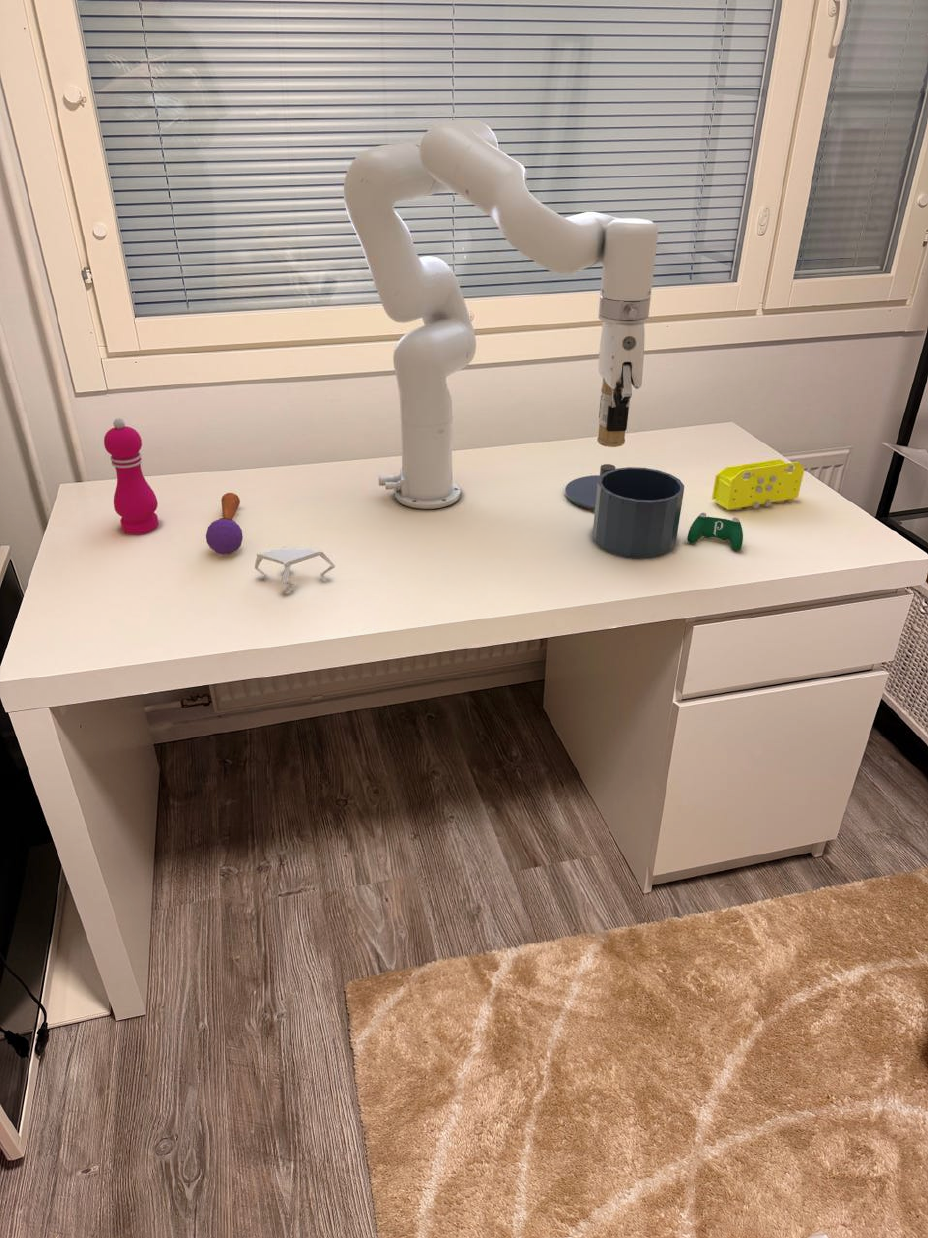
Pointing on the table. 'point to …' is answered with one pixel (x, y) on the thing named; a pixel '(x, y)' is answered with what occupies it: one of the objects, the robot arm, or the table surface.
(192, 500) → the table surface
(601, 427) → the sprinkles bottle
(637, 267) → the robot arm
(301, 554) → the grey toy table
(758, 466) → the yellow toy chassis
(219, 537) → the purple maraca
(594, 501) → the lid
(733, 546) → the gaming controller
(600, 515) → the pot
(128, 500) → the pepper mill
